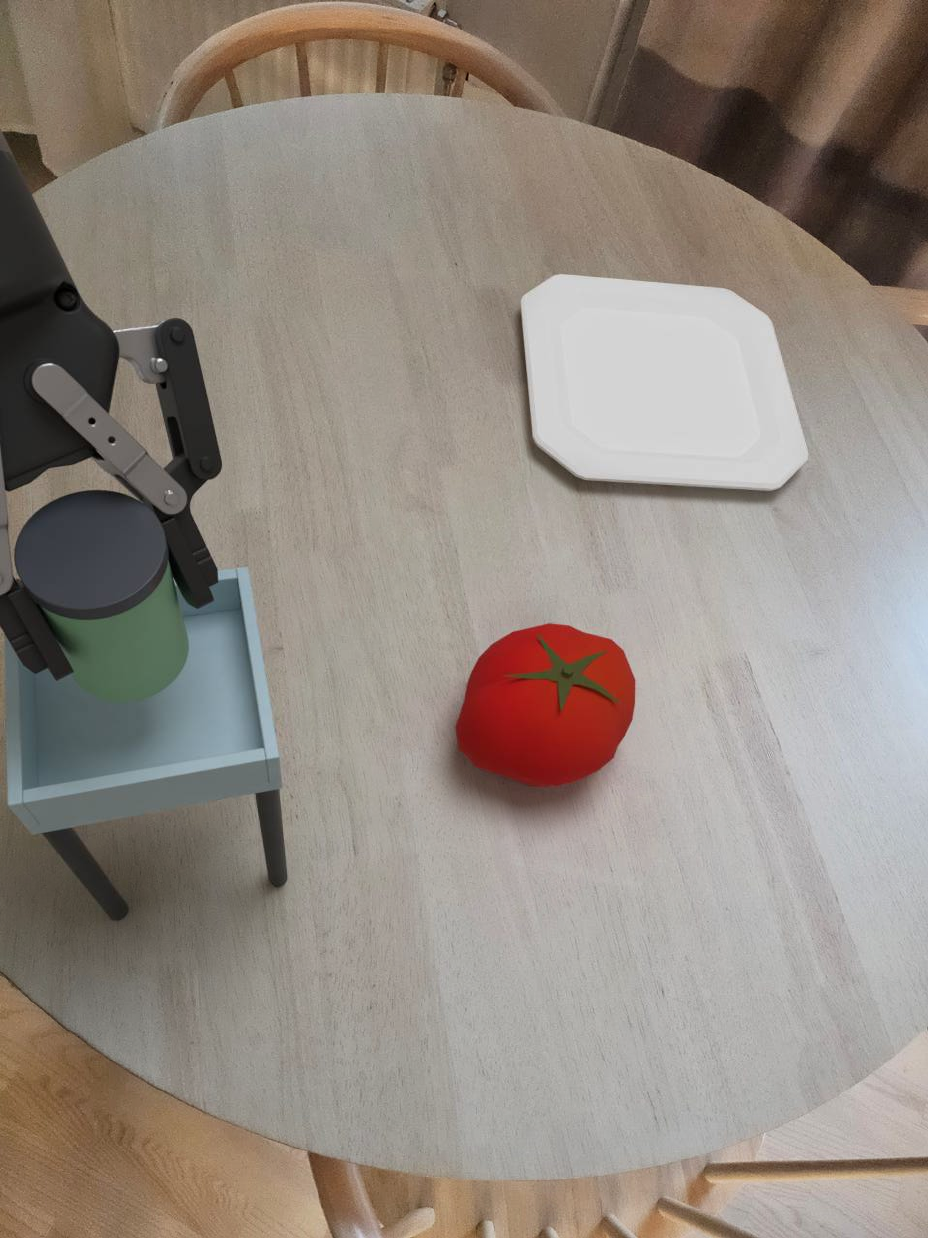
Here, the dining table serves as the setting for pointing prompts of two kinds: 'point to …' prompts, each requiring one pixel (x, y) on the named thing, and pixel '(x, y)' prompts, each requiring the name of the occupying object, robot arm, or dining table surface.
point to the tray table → (149, 741)
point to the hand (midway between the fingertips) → (133, 634)
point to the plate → (658, 384)
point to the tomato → (547, 705)
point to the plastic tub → (106, 592)
